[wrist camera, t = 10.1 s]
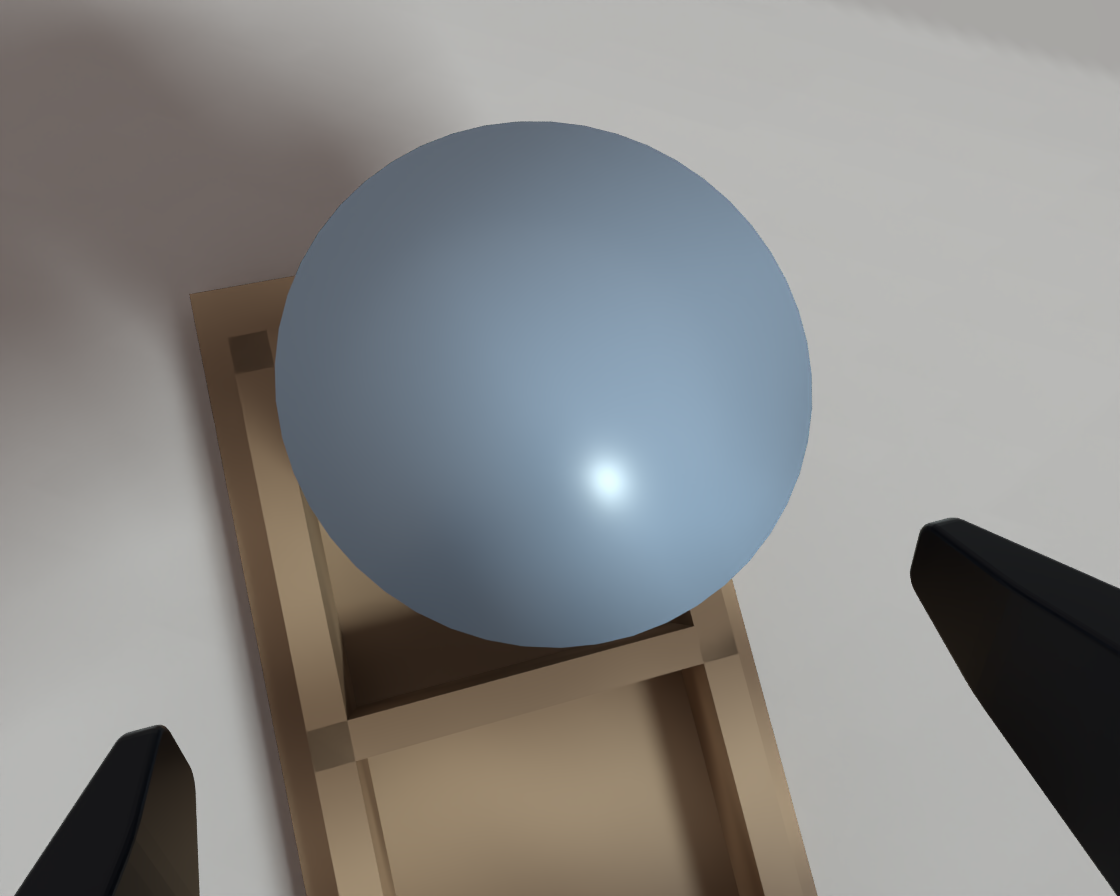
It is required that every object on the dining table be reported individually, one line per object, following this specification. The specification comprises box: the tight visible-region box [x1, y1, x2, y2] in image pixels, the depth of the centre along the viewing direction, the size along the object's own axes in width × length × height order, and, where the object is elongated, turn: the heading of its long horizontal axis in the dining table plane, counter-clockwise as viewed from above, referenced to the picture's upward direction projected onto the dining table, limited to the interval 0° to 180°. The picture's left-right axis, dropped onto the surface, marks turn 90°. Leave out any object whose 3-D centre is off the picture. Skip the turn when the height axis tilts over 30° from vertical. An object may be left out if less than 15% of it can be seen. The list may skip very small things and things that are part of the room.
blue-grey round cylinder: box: [275, 122, 812, 648], centre depth 13 cm, size 5×5×12 cm
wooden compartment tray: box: [189, 276, 817, 896], centre depth 19 cm, size 21×11×3 cm, turn 14°
